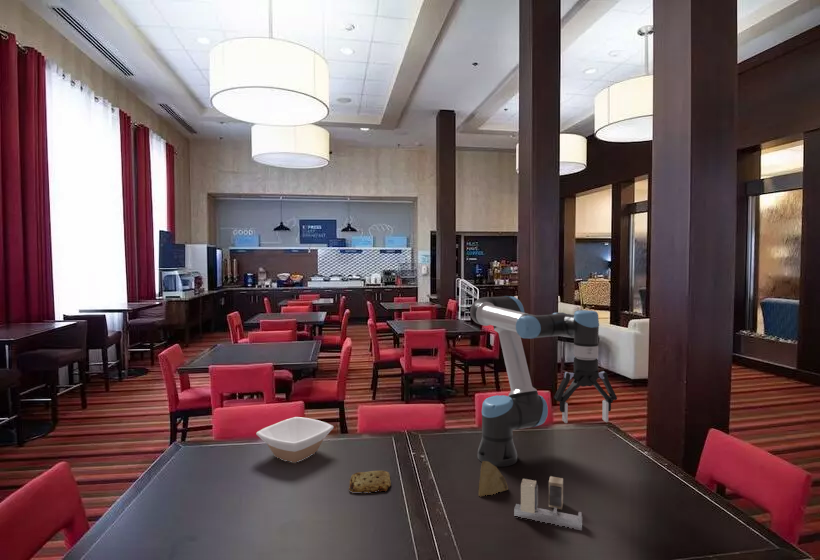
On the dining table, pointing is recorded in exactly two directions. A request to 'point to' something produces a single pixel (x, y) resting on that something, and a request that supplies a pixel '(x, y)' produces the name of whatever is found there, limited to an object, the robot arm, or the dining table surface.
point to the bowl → (295, 437)
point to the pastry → (370, 481)
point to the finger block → (555, 492)
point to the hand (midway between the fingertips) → (585, 421)
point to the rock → (491, 480)
